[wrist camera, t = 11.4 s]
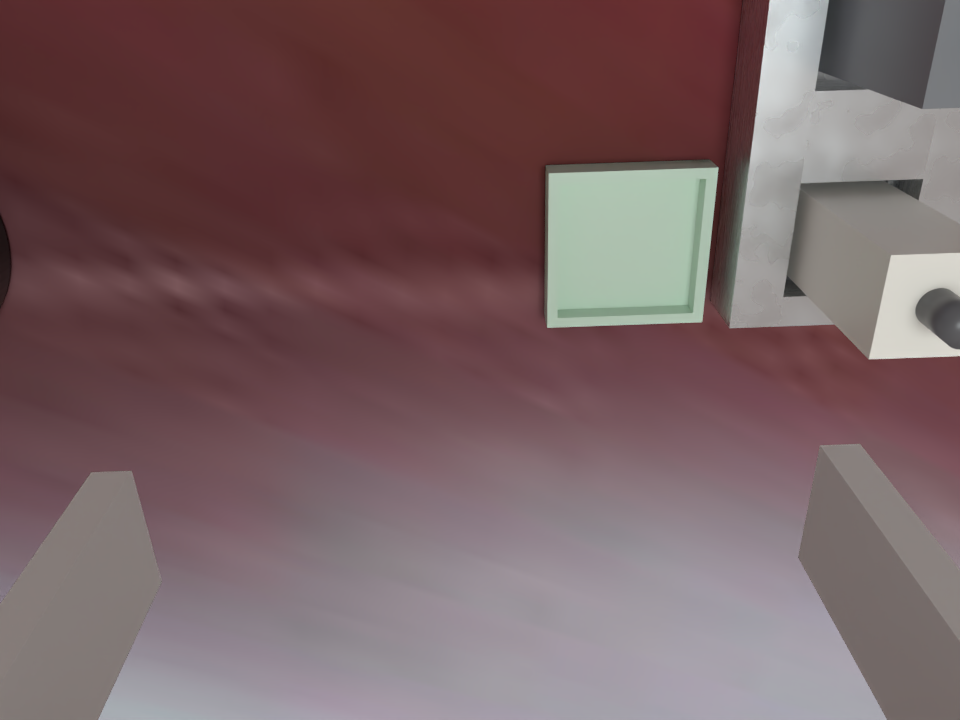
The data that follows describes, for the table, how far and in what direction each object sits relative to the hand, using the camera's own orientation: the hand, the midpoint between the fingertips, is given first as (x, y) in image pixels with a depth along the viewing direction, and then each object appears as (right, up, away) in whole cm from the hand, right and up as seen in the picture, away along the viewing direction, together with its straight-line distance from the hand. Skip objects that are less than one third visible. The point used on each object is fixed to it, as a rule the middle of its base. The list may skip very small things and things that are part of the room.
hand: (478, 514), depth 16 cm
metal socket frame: (+20, +16, +29) cm, 39 cm away
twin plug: (+20, +21, +26) cm, 38 cm away
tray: (+8, +10, +32) cm, 34 cm away
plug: (+20, +11, +31) cm, 38 cm away
